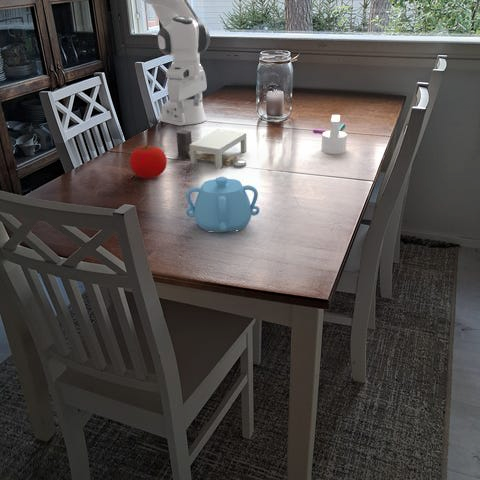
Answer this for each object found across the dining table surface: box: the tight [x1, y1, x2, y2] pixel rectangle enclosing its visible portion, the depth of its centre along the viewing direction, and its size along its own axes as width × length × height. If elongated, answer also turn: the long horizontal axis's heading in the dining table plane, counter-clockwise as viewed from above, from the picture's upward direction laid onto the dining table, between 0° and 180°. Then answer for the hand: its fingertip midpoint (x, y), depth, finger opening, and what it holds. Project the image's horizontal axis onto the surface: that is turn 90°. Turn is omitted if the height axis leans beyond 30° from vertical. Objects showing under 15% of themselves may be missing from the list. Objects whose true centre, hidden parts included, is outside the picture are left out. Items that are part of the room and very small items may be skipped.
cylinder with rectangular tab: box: [321, 114, 348, 155], centre depth 190 cm, size 9×9×12 cm
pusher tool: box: [175, 129, 238, 167], centre depth 184 cm, size 22×6×9 cm, turn 62°
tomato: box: [129, 144, 168, 179], centre depth 171 cm, size 11×12×10 cm
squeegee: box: [312, 123, 346, 134], centre depth 209 cm, size 29×2×10 cm
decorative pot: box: [185, 176, 261, 233], centre depth 138 cm, size 16×16×14 cm
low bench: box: [189, 128, 247, 169], centre depth 187 cm, size 12×20×7 cm, turn 152°
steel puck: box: [231, 158, 247, 168], centre depth 181 cm, size 5×5×2 cm
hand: (189, 109), depth 182 cm, fingers open, 8 cm apart
